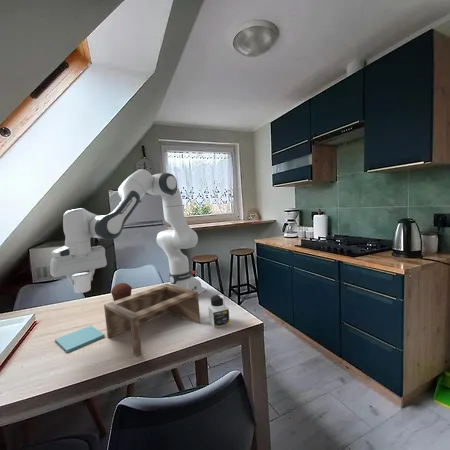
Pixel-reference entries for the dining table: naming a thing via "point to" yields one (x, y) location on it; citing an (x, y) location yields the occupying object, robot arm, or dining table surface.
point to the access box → (149, 310)
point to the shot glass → (82, 282)
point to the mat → (79, 338)
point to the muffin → (121, 291)
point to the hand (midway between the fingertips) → (81, 282)
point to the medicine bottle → (218, 311)
